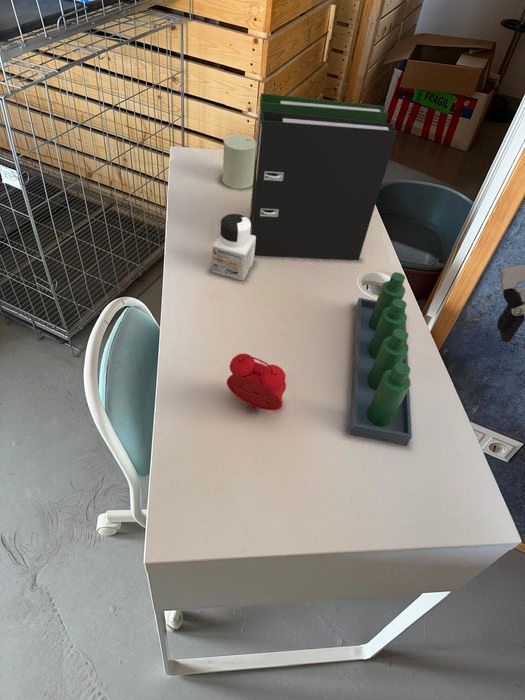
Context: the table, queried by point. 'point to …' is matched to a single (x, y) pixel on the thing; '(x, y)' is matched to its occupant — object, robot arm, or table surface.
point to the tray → (364, 393)
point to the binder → (317, 176)
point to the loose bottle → (389, 395)
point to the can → (238, 161)
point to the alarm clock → (257, 382)
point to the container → (234, 247)
